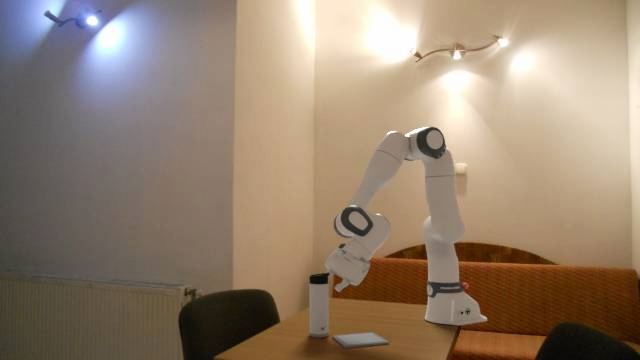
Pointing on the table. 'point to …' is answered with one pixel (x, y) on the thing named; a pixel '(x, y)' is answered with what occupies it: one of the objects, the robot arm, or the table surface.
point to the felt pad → (359, 340)
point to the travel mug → (319, 305)
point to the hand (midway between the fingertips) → (330, 285)
